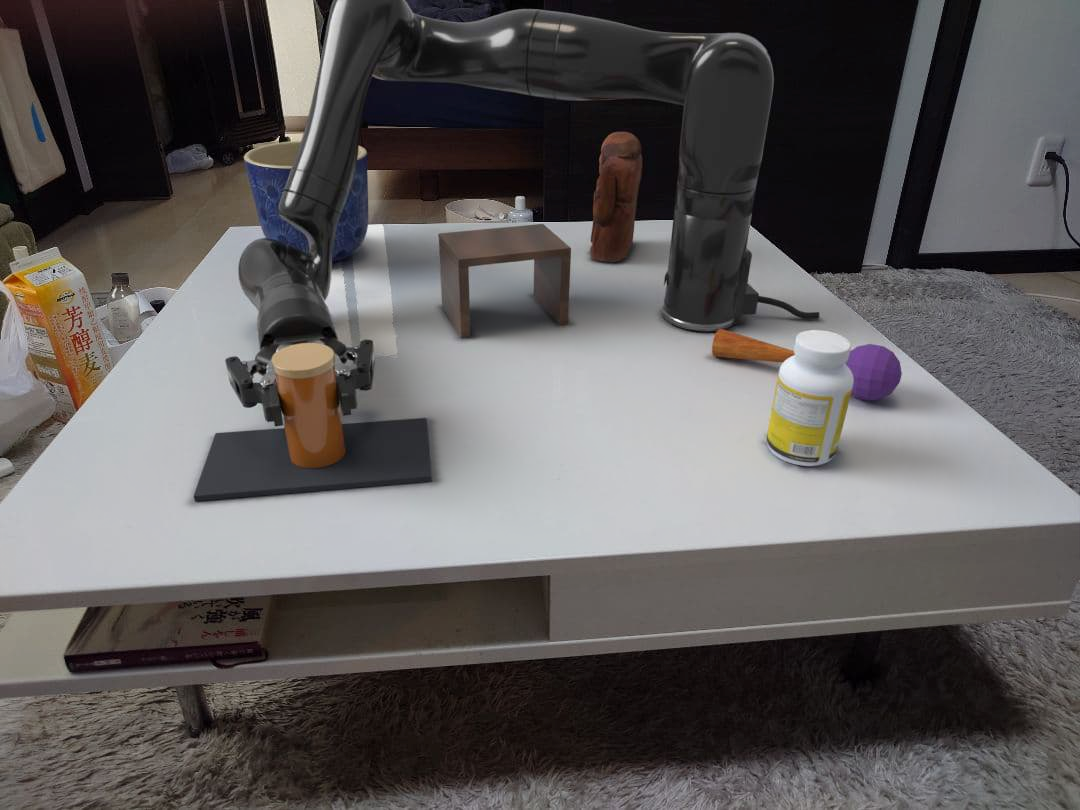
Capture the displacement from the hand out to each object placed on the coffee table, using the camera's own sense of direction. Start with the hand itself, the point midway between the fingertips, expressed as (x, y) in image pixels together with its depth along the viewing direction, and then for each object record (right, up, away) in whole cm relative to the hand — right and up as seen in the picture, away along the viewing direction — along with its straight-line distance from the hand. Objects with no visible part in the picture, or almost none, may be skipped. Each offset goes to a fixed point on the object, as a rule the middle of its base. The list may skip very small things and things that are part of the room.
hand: (312, 411), depth 66 cm
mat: (-1, -4, +5) cm, 7 cm away
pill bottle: (+44, -4, +8) cm, 45 cm away
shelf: (+15, +12, +34) cm, 39 cm away
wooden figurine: (+31, +24, +56) cm, 68 cm away
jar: (-1, -4, +5) cm, 7 cm away
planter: (-14, +23, +52) cm, 59 cm away
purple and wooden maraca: (+48, +3, +21) cm, 53 cm away
